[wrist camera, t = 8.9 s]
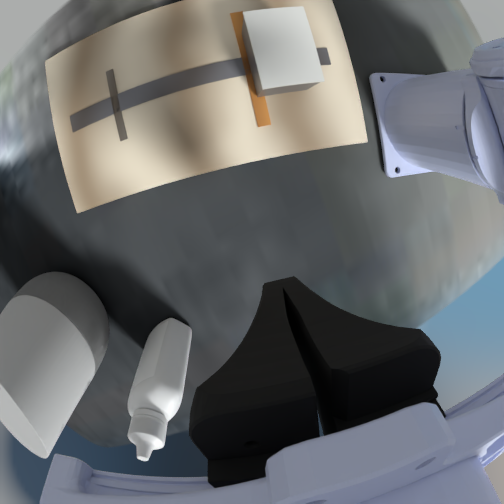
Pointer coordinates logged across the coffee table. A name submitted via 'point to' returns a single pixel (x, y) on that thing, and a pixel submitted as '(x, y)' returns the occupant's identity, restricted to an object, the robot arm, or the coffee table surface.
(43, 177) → the coffee table surface
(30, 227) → the coffee table surface
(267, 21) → the fader tab
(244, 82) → the console
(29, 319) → the smart speaker
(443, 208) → the coffee table surface
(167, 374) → the eye dropper bottle
